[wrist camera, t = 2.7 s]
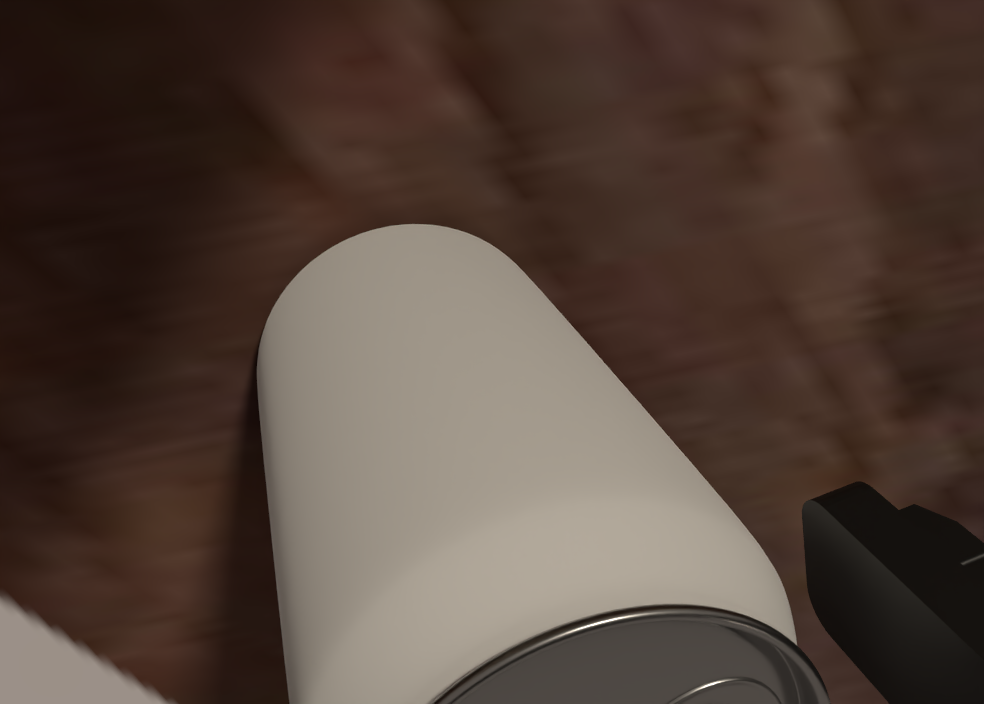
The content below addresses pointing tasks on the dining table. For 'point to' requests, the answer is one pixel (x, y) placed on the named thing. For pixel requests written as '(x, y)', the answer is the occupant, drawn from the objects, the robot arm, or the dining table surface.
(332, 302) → the can
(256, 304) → the dining table surface
